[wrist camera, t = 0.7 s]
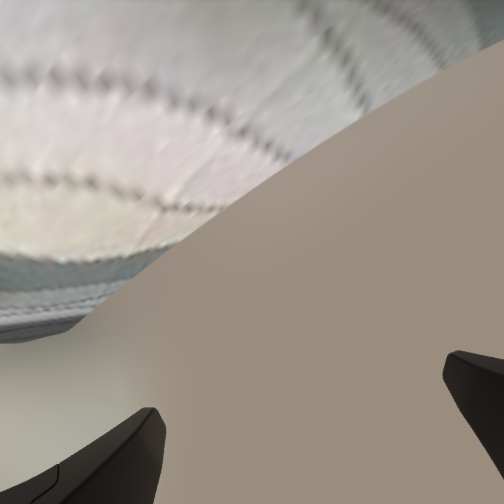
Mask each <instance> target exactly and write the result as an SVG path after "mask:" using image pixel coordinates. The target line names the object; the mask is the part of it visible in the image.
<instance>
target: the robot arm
mask: <svg viewBox="0 0 504 504" xmlns="http://www.w3.org/2000/svg"><path fill="white" fill-rule="evenodd" d="M443 380H444V382H445V384H446V386H447V388H448V389H449V391H450V393H451V395H452V397H453V399H454V401H455V403H456V405H457V406H458V408H459V410H460V412H461V413H462V415H463V416H464V418H465V419H466V421H467V422H468V424H469V425H470V426H471V428H472V430H473V431H474V433H475V434H476V436H477V437H478V439H479V440H480V442H481V443H482V445H483V446H484V448H485V450H486V451H487V453H488V454H489V456H490V458H491V459H492V461H493V462H494V464H495V466H496V467H497V469H498V471H499V472H500V474H501V476H502V477H503V479H504V359H498V358H494V357H488V356H483V355H479V354H474V353H469V352H465V351H460V350H457V351H455V352H452V353H449V354H448V356H447V358H446V362H445V365H444V369H443ZM165 438H166V426H165V423H164V421H163V420H162V418H161V416H160V414H159V412H158V410H157V409H156V408H153V407H152V408H150V407H147V408H146V407H145V408H142V409H140V410H139V411H138V412H136V413H135V414H133V415H132V416H130V417H129V418H128V419H126V420H125V421H123V422H122V423H120V424H119V425H117V426H116V427H114V428H113V429H111V430H110V431H109V432H107V433H105V434H104V435H103V436H101V437H99V438H98V439H96V440H95V441H93V442H92V443H91V444H89V445H87V446H86V447H84V448H83V449H81V450H79V451H78V452H76V453H75V454H73V455H71V456H70V457H68V458H67V459H65V460H64V461H62V462H60V464H56V465H55V466H53V467H51V468H50V469H48V470H46V471H44V472H43V473H41V474H39V475H37V476H35V477H33V478H31V479H29V480H27V481H25V482H23V483H21V484H18V485H16V486H14V487H11V488H9V489H7V490H4V491H2V492H0V504H153V502H154V498H155V494H156V490H157V485H158V482H159V478H160V474H161V469H162V463H163V455H164V446H165Z"/></svg>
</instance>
